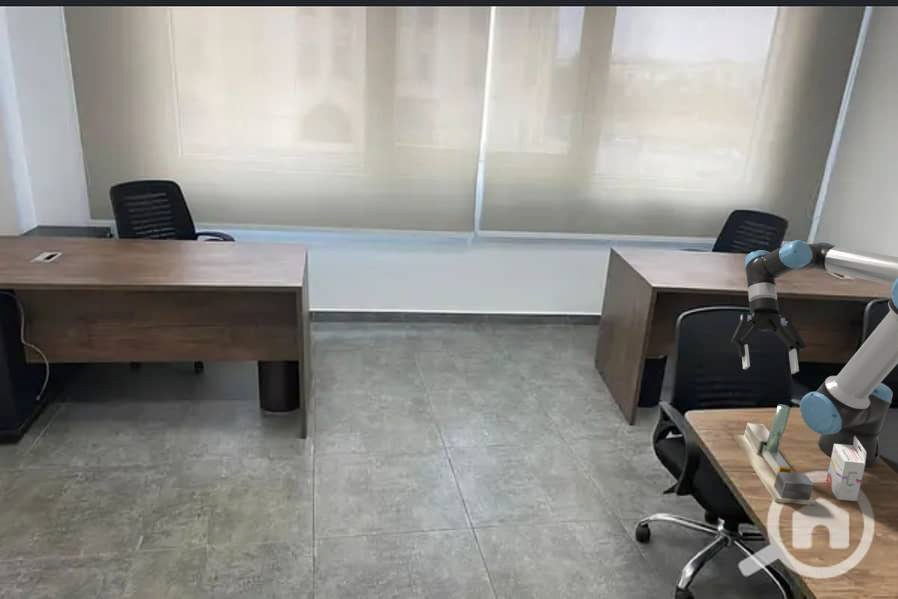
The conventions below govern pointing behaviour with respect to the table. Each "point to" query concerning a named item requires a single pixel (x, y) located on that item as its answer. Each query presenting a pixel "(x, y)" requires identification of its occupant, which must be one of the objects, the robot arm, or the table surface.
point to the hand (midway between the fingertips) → (770, 370)
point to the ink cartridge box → (846, 470)
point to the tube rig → (779, 486)
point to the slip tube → (776, 441)
